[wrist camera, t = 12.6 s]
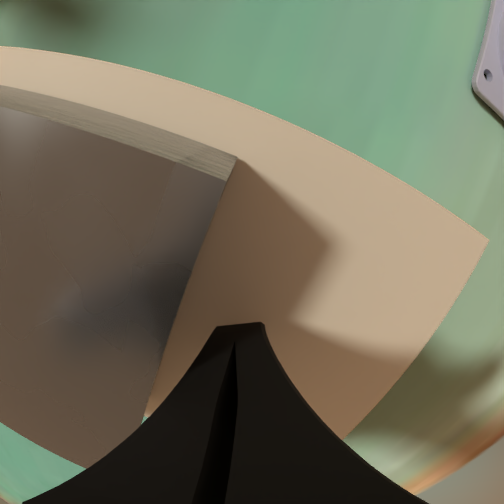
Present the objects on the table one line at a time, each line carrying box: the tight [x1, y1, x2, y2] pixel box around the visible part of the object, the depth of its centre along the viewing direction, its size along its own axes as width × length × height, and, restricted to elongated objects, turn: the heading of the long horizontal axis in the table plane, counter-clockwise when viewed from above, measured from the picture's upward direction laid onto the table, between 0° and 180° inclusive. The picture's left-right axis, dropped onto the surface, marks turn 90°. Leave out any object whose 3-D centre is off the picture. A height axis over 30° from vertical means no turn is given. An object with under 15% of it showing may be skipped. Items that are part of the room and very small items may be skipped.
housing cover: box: [0, 85, 238, 469], centre depth 7 cm, size 9×9×4 cm
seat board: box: [0, 46, 489, 440], centre depth 10 cm, size 12×20×2 cm, turn 67°
